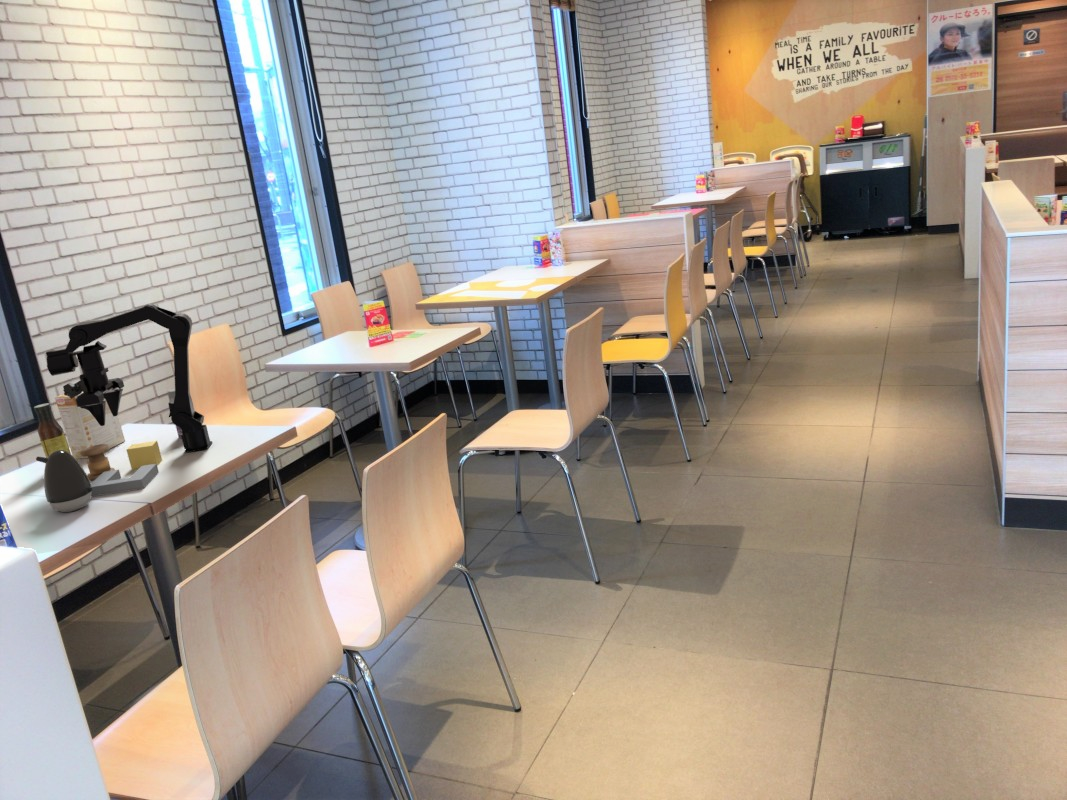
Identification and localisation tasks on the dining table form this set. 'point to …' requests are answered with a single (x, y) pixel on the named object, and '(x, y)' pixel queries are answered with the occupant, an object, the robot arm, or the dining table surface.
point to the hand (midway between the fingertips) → (109, 420)
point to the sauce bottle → (50, 431)
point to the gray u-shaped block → (123, 480)
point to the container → (171, 396)
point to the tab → (144, 454)
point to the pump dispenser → (65, 482)
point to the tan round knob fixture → (96, 460)
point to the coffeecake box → (87, 426)
